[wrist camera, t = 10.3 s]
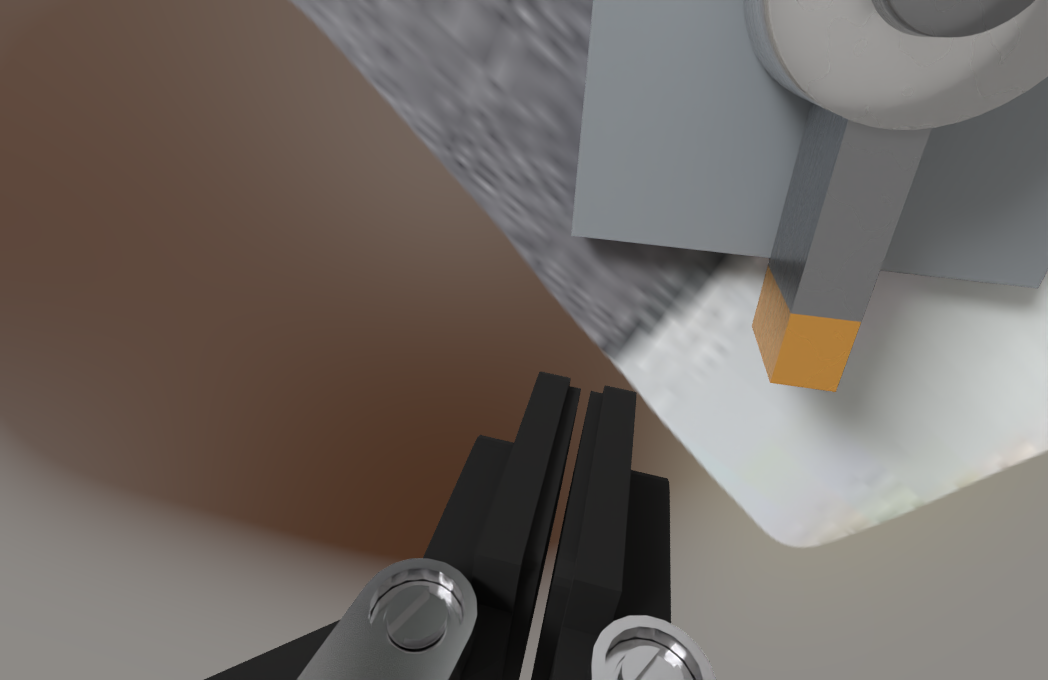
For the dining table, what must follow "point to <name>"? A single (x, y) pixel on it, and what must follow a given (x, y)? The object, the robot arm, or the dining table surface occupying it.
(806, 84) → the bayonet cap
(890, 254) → the mounting board
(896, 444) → the dining table surface
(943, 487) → the dining table surface
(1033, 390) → the dining table surface
